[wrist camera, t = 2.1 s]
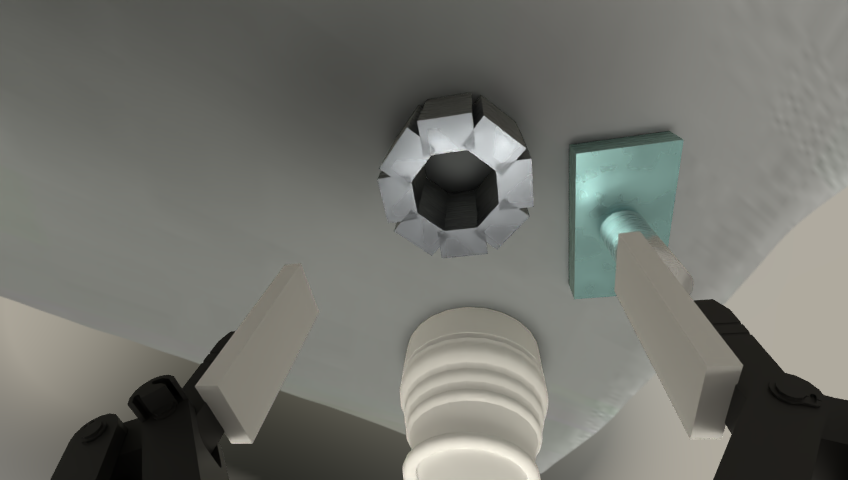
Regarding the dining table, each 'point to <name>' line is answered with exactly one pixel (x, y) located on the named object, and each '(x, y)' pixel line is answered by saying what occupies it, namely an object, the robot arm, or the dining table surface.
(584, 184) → the teal two-tone fixture
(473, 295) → the dining table surface
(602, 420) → the dining table surface
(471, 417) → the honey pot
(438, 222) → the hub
